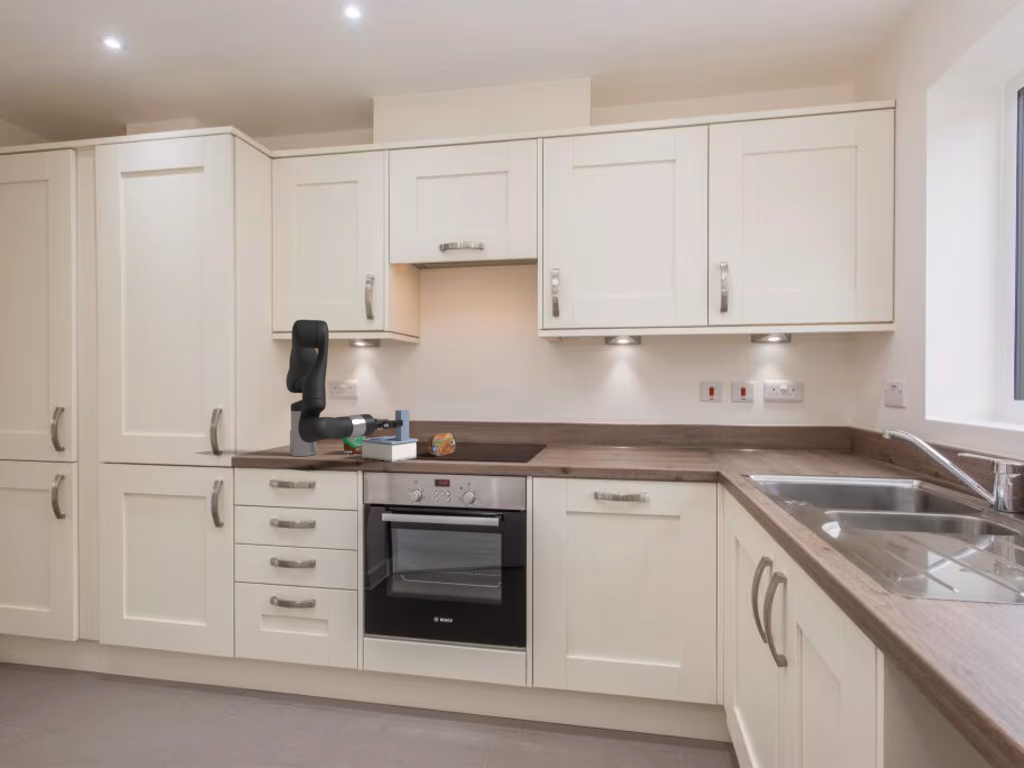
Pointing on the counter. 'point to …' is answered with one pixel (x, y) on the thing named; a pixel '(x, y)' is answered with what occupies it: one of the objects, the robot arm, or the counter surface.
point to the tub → (389, 451)
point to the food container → (353, 445)
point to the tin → (442, 444)
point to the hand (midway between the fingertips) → (394, 422)
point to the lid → (396, 431)
